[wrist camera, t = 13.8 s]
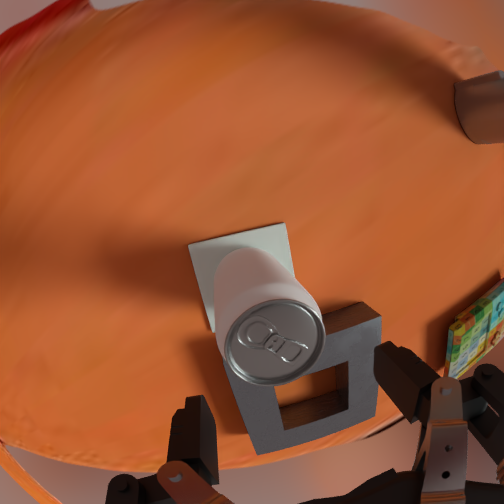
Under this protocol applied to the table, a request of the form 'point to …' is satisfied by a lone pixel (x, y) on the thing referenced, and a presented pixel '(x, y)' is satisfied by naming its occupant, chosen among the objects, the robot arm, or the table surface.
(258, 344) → the can
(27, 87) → the table surface
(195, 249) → the mat
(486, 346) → the puzzle game
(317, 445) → the table surface
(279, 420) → the hollow block
